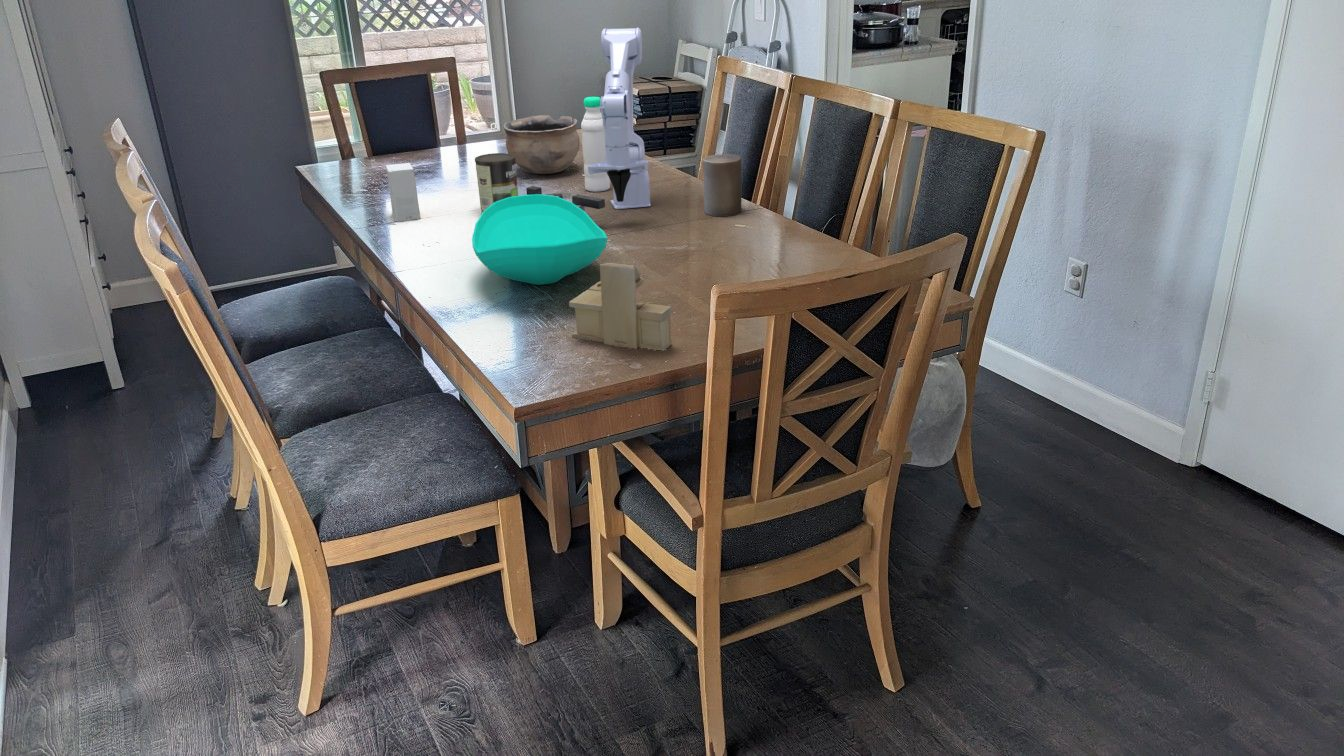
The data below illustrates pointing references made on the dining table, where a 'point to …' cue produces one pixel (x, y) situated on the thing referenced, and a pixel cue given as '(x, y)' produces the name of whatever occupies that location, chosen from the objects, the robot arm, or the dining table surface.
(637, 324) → the toy kitchen set
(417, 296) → the dining table surface
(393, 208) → the small box
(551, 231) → the table top decor
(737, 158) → the pillar candle
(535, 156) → the ceramic bowl
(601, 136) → the water bottle
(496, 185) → the coffee can
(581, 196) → the lid
